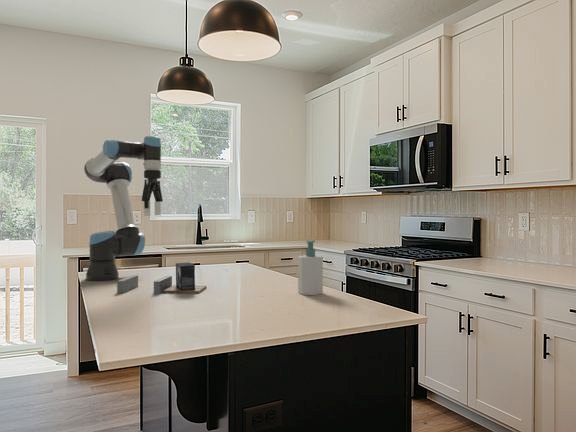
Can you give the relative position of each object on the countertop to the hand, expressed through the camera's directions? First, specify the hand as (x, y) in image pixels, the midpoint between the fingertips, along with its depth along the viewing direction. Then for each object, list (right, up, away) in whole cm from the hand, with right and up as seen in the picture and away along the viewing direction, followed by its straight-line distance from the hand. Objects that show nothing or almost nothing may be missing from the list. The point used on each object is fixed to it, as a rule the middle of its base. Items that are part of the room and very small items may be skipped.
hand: (152, 215), depth 216 cm
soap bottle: (+73, -33, -23) cm, 83 cm away
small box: (+19, -31, -18) cm, 41 cm away
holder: (+2, -32, -17) cm, 36 cm away
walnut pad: (+19, -32, -18) cm, 41 cm away
